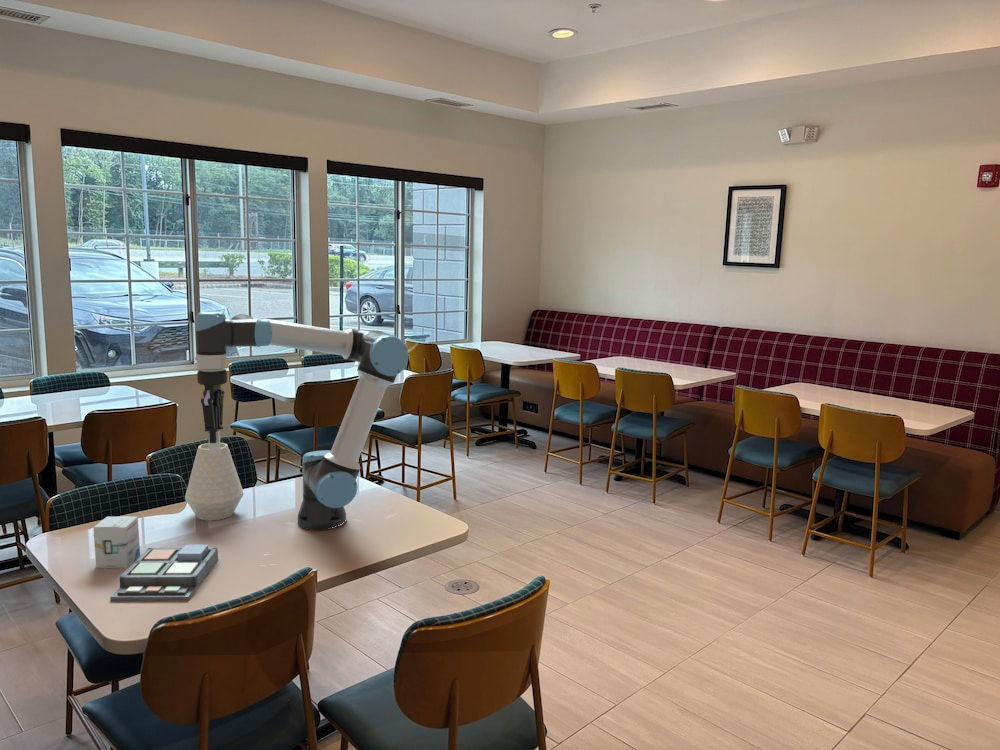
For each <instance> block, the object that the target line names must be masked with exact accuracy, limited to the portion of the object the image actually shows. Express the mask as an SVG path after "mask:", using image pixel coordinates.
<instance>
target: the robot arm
mask: <svg viewBox="0 0 1000 750" xmlns="http://www.w3.org/2000/svg"><path fill="white" fill-rule="evenodd" d="M194 329H195V330H194V331H195V341H196V342H195V345H196V356H195V357H194V359H195V360H196V368H198V370H197V372H196V376H197V383H198V384H199V385H201V386H204V390H203V391H202V392H203V393H202V395H203V397H202V398H201V399H200V403H201V407H202V414H203V423H204V432H207V433H208V440H207V441H208V443H209V454H220V453H221V448H220V443H221V430H223V429H224V426H223V415H224V412H223V411H224V397H225V390H223V389H222V387H221V386H222V385H225V384H227V382H228V371H227V370H226V369H227V367H228V362H227V360H228V359H227V357H228V355H227V348H235V347H236V348H238V347H240V348H241V347H257V348H261V347H269V346H276V347H283V348H290V349H297V350H303V351H309V352H310V351H311V352H317V353H324V354H331V355H337V356H341V357H342V358H343V359H344V360H349V361H354V362H358V363H359V364H358V366H357V369H356V370H357V374H358V375H359V378H358V380H357V383H356V386H355V388H354V391H353V393H352V396H351V399H350V401H349V404H348V405H347V408H346V412H345V414H344V417H343V419H342V421H341V424H340V427H339V429H338V432H337V433H336V434H337V435H336V437H335V440H334V442H333V445H332V446H331V450H330V449H329V450H327V449H326V450H316V451H315V450H314V451H309V452H306V453H304V454H303V455H302V463H301V465H302V502H301V505H300V507H299V510H298V513H297V525H298V524H299V525H300V526H302V527H304V528H303V529H305V528H308V529H307V530H310V529H315V530H314V531H321V530H320V529H327V530H329V529H328V528H332V527H335V526H338V525H340V524H342V523H343V522H345V520H346V521H347V512H346V510H345V506H347V505H349V504H350V503H351V502H352V501H353V500H354V499H355V498H356V495H357V493H358V481H357V478H358V476H359V473H360V470H361V466H360V463H359V459H360V457H361V454H362V451H363V449H364V446H365V444H366V441H367V439H368V437H369V434H370V430H371V429H372V428H371V427H372V426H373V423H374V420H375V418H376V416H377V414H378V410H379V408H380V405H381V403H382V400H383V397H384V395H385V392H386V390H387V388H388V387H390V386H392V385H394V383H395V381H396V378H397V375H398V374H400V373H402V372H403V371H404V369H406V367H407V364H408V363H409V362H408V361H409V350H408V346H407V345H406V344H405V342H404V341H403V340H402V339H401V338H399V337H398V336H397V335H394V334H390V333H386V332H384V331H380V330H366V329H354V328H353V329H352V328H348V329H346V330H341V329H333V328H327V327H321V326H314V325H308V324H302V323H296V322H290V321H283V320H277V319H269V318H265V317H263V318H262V317H256V316H251V315H248V314H244V313H239V314H235V315H233V316H232V317H230V319H229V318H228V319H227V317H226V314H225V313H224V312H220V311H201V312H200V311H199V312H198V313H197V314H196V315H195V328H194ZM345 523H346V522H345ZM299 525H298V526H299ZM300 526H299V527H300ZM302 527H301V528H302Z"/></svg>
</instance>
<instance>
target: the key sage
mask: <svg viewBox="0 0 1000 750" xmlns="http://www.w3.org/2000/svg"><path fill="white" fill-rule="evenodd" d="M163 568H164V563H140V564H139V565H138V566H137V567H136V568H135V569H134V570H133V571H132V572H131V575H157V574H158V573H159V572H160V571H161V570H162V569H163Z"/></svg>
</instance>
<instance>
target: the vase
mask: <svg viewBox="0 0 1000 750" xmlns="http://www.w3.org/2000/svg"><path fill="white" fill-rule="evenodd" d="M220 448H221V453H220V454H209V442H208V443H206V442H205V443H202V444H200V445H198V447H197V450H196V454H195V458H194V461H193V465H192V469H191V473H190V477H189V481H188V485H187V488H186V492H185V494H184V495H185V496H184V499H185V501H186V503H187V505H188V506H189V507H190V509H191V510H192V512H193V513H194V514H195V517H196V518H197V519H198V520H201V521H209V522H213V521H212V520H216V521H221V520H220V519H222V520H225V519H224V518H226V519H228V518H230V517H232V516H233V515H234V513H235V511H236V509H237V508H238V506H239V503H240V502H241V500H242V499H243V496H244V490H243V487H242V483H241V480H240V478H239V476H238V475H239V474H238V472H237V469H236V466H235V463H234V460H233V458H232V454H231V451H230V448H229V446H228V444H227V443H225V442H220ZM231 515H232V516H231ZM229 516H230V517H229ZM227 517H228V518H227Z"/></svg>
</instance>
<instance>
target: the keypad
mask: <svg viewBox="0 0 1000 750" xmlns="http://www.w3.org/2000/svg"><path fill="white" fill-rule="evenodd" d="M182 548H183V547H148V548H147V549H146V550H145V551H144V552H143V553H142V554H140V556H139V557H138V558H137V559H136V560H135V561H134V562H133V563H132V564H131V565H130V566H129V567H128V568H126V570H125V571H124V572H123V573H122V574H121V575H120V576H119V588H118V589H117V590H116V591H114V593H112V595H111V596H110V598H109V599H110V602H139V601H140V602H143V601H144V602H151V601H153V602H154V601H156V602H157V601H159V602H166V601H168V602H169V601H174V602H175V601H180V602H181V601H185V602H186V601H190V599H191V598H192V597H193V595H194V594H195V592H196V591H197V590H198V588H199V587H200V585H201V584H202V583H203V581H204V580H205V579H206V577H207V576H208V575H209V573H210V572H211V570H212V569H213V568H214V567H215V564H216V563H217V562H218V561H219V552H218V551H219V550H218V547H208V555H207V556H206V557H205V558H204V560H203V561H178V553H179V552H180V550H181V549H182ZM152 550H176V554H175V555H174V556H173V557H172V559H171V560H170V561H144V558H145V557H146V556H147V555H148V554H149V553H150V552H151V551H152ZM140 563H164V568H163V569H162V570H161V571H160V572H159V573H158V574H157V575H131V572H132V571H133V570H134V569H135V568H136V567H137V566H138V565H139V564H140ZM174 563H198V568H197V569H196V571H195V572H194V573H193V574H192V575H166V572H167V571H168V570H169V568H170V567H171V566H172V565H173V564H174Z"/></svg>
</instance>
